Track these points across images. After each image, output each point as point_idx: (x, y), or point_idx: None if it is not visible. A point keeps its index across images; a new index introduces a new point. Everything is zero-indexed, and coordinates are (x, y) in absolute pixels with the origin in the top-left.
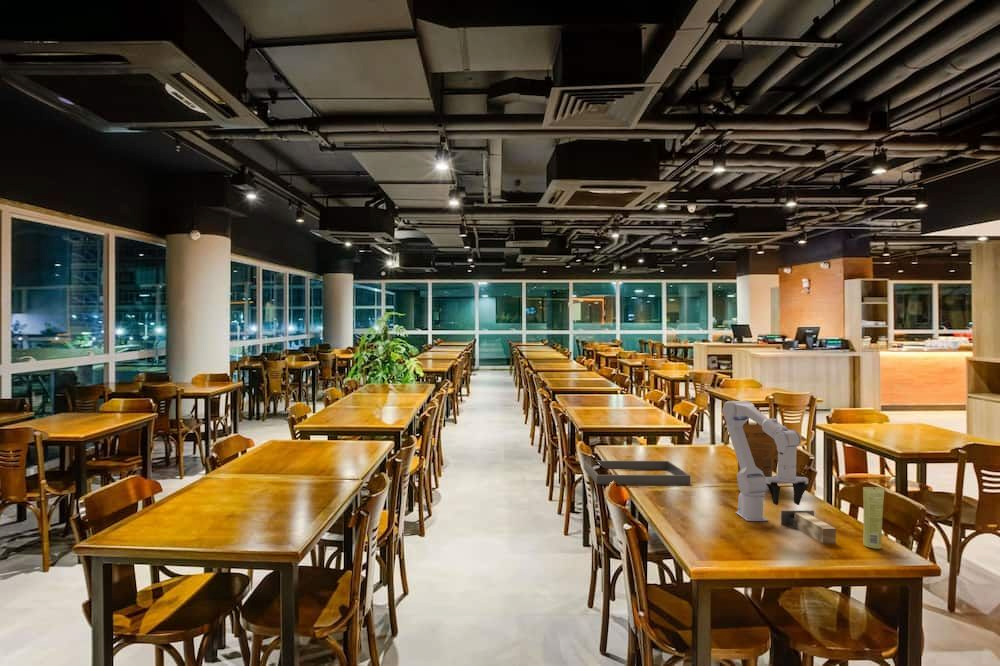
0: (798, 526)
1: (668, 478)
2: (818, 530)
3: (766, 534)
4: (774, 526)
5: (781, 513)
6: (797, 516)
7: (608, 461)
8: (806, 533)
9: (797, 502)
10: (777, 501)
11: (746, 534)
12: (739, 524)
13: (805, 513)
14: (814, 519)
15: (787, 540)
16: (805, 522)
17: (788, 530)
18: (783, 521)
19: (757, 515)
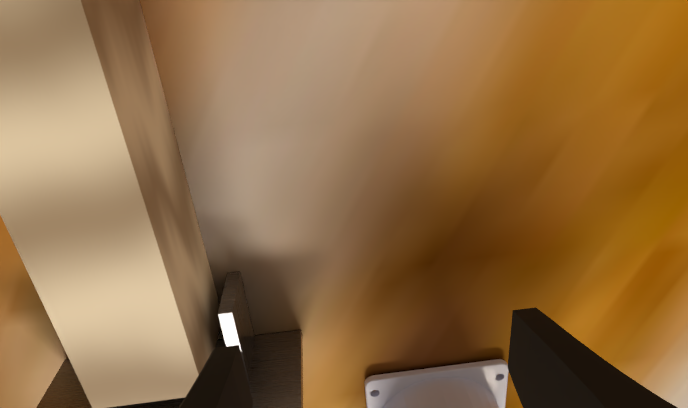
0: (208, 284)
1: None
2: (112, 37)
3: (519, 136)
4: (367, 298)
5: (302, 398)
6: (198, 348)
7: None
8: (187, 184)
9: (235, 370)
10: (552, 333)
11: (675, 120)
12: (589, 303)
13: (110, 390)
14: (73, 255)
15: (423, 11)
16: (171, 242)
17: (301, 236)
18: (289, 347)
19: (444, 399)
